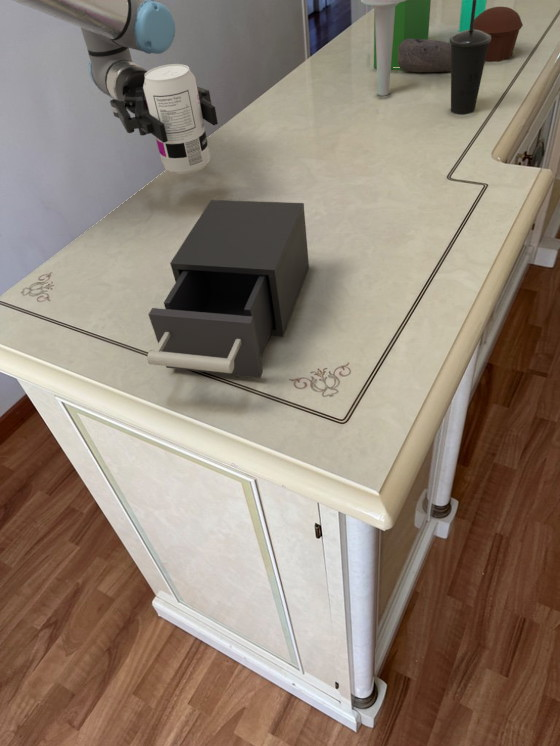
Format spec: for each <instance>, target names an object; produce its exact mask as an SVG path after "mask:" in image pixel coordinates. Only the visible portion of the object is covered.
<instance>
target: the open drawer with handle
mask: <svg viewBox="0 0 560 746" xmlns="http://www.w3.org/2000/svg"><path fill="white" fill-rule="evenodd" d="M163 306H164V308H157V307H152V308H151V309H150V310H149V312H148V317H149V321H150V324H151V327H152V330H153V332H154V335H155V338H156V341H157V345H156V347H155V348H154V350H149V351H148V353H147V356H146V357H147V358H146V361H147V363H148V364H149V365H153V366H161V367H166V369H174V370H183V371H193V372H199V373H200V372H201V373H210V374H217V375H218V374H219V375H228V376H236V377H244V378H245V377H246V378H254V379H261V378H262V375H263V372H264V370H263V365H262V359H261V357H262V355H263V352H264V350H265V347H266V346H267V343H268V340H269V338H270V336H271V335H270V333H271V330H272V328H273V325H274V323H275V316H274V309H273V302H272V295H271V288H270V281H269V275H256V274H241V273H227V272H212V271H197V270H183V272H182V273H181V275H180V277H179V278H178V280H177V281H176V282H175V283H174V284H173V287H172V288H171V290H170V291H169V293H168V295H167V296H166V298H165V300H164V301H163Z"/></svg>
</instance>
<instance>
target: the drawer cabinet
mask: <svg viewBox="0 0 560 746" xmlns="http://www.w3.org/2000/svg"><path fill="white" fill-rule="evenodd" d="M308 250H309V249H308V238H307V225H306V214H305V203H304V202H284V201H256V200H231V199H229V200H224V199H210V200H209V202H208V203H207V205H206V207H205V208H204V210H203V211H202V213H201V214H200V216H199V218H198V219H197V220H196V222H195V224H194V225H193V227H192V229H191V230H190V232H188V234H187V236H186V237H185V239H184V241H183V242H182V244H181V245H180V246H179V249H178V250H177V252H176V253H175V255H174V256H173V258H172V259H171V261H170V263H169V264H170V267H171V271H172V274H173V278H174V281H175V283H176V281H177V280H178V278H179V277H180V275H181V273H182V272H183V270H197V271H212V272H227V273H241V274H256V275H269V281H270V288H271V295H272V302H273V309H274V316H275V323H274V325H273V328H272V330H271V333H270V335H269V336H276V337H277V336H278V337H284V336H285V334H286V331H287V328H288V326H289V322H290V321H291V320H290V319H291V317H292V314H293V313H294V309H295V306H296V304H297V301H298V297H299V296H300V292H301V290H302V287H303V285H304V282H305V280H306V277H307V274H308V271H309V269H310V263H309V251H308Z"/></svg>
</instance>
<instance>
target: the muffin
mask: <svg viewBox="0 0 560 746" xmlns="http://www.w3.org/2000/svg"><path fill="white" fill-rule="evenodd" d="M522 27H523V22H522V19H521V16H520V14H519V13H518V12H517V11H516V10H514V9H513V8H510V7H508V6H493V7H490V8H487V9H486V10H485V11H484V12H482V13H481V14H480V15H478V16H477V17H476V18H475V20H474V27H473V30H480V31H482V32H484V33H487V34H489V35H490V36H491V41H490V42H489V45H488V49H487V54H486V59H485V63H488V62H489V63H490V62H502V61H505V60H509V59H510V57H512V56H513V53H514V49H515V46H516V42H517V40H518V36H519V33H520V30H521V29H522Z"/></svg>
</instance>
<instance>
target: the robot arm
mask: <svg viewBox="0 0 560 746" xmlns="http://www.w3.org/2000/svg"><path fill="white" fill-rule="evenodd" d="M12 1H13V2H16V3H19V4H21V5H24V6H26V7H28V8H31V9H33V10H36V11H38V12H40V13H44V14H46V15H48V16H51V17H54V18H55V19H59V20H61V21H64V22H67V23H69V24H71V25H74V26H76V27H79V28H80V30H81V34H82V36H83V39H84V42H85V46H86V48H87V52H88V57H89V61H88V75H89V77H90V79H91V82H92V83H93V84H94V85H95V86H96V87H97V89H98V90H99V91H100V92H102V93H103V94H105V95H107V96H109V97H110V98H111V99H110V100H109V103H110V106H111V110H112V113H113V116H114V117H115V118H117V119H119V120H120V122H121V124H122V126H123V127H124V129H125V131H126V133H127V134H132V133H134V132H135V130H136V129H138V133H139V135H140V136H146V135H149V134H151V135H152V136H154V137H155V138H156V137H157V138H158V139H159V140H161V141H162V142H163V143H164V142H167V141H168V139H167V135H166V131H165V127H164V124H163V123H162V122H160V121H159V120H158V119H156V118H155V117H153V116H152V115H150V113H149V109H148V105H147V101H146V97H145V93H144V89H143V86H144V81H145V73H146V72H148V71H149V70H147V69H145V68H143V66H140V65H139V64H137V63H135V62H133V59H132V55H131V51H130V49H132V50H136V51H139V52H142V53H143V52H144V53H145V54H149V55H150V54H155V55H161V54H164V53H165V52H167V51H168V50H169V49H170V48H171V46H172V45H173V43H174V39H175V36H176V22H175V19H174V16H173V13H172V12H171V10H170V9H169V8H168V7H167V6H166V5H165V4H163V3H161V2H159V1H158V2H157V1H156V0H12ZM197 90H198V95H199V100H200V106H201V111H202V116H203V121H206V122H207V123H209V124H210V125H212V126H217V125H219V122H218V118H217V117H218V116H217V111H216V106H214V105H213V104H212V99H211V93H210V89H206V88H204V87H200V86H197ZM129 112H130V113H132V114H133V115H134V116H133V117H131V114H130V113H129Z"/></svg>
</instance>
